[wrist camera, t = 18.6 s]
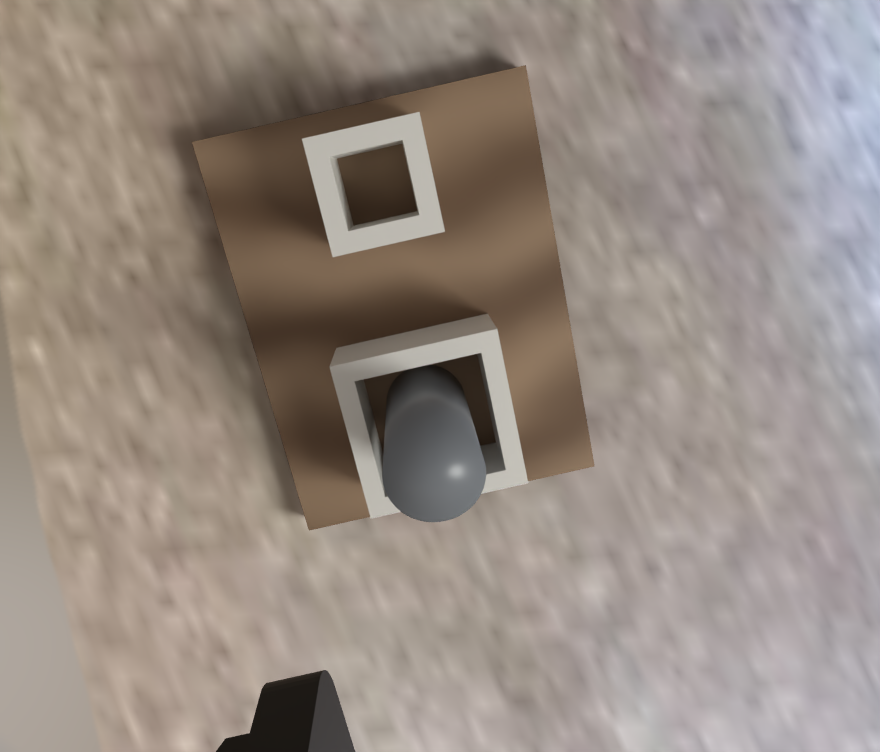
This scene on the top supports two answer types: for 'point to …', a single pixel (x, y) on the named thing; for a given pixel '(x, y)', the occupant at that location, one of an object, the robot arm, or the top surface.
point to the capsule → (431, 446)
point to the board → (400, 274)
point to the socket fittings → (413, 345)
